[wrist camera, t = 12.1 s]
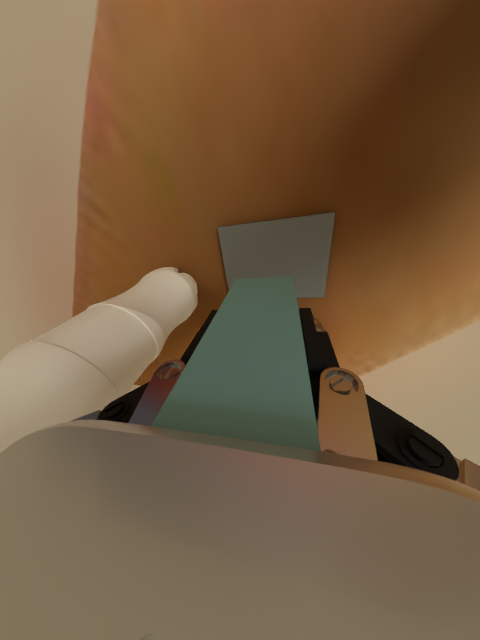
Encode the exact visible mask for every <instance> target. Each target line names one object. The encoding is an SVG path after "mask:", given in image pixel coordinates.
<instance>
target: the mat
mask: <svg viewBox="0 0 480 640" xmlns="http://www.w3.org/2000/svg"><path fill="white" fill-rule="evenodd" d="M334 219H335V212H330V213H322V214H315V215H307V216H299V217H292V218H284V219H276V220H269V221H261V222H253V223H246V224H238V225H231V226H223V227H218V234H219V239H220V245H221V251H222V256H223V262H224V268H225V273H226V279H227V284H228V290H230V289H231V287H232V285H233V284H234V282H235V280H236V279H247V278H263V277H280V276H294V283H295V289H296V296H297V298H315V297H324V296H325V289H326V281H327V273H328V266H329V258H330V250H331V242H332V235H333V227H334Z"/></svg>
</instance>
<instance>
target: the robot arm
mask: <svg viewBox="0 0 480 640" xmlns="http://www.w3.org/2000/svg"><path fill="white" fill-rule="evenodd" d="M217 311H218V310H212V311H211V313H210V315H209V316H208V318H207V319H206V321H205V323H204V324H203V326H202V327H201V329H200V330H199V331H198V333H197V334H196V336H195V337H194V339H193V340H192V342H191V343H190V345H189V347H188V348H187V350H186V351H185V353H184V354H183V356H182V358H181V359H180V360H170V361H167V362H165V363H163V364H162V365H160V366H159V367H158V368H157V369H156V371H155V372H154V374H153V376H152V378H151V380H150V382H148V383H146V384H144V385H142V386H141V387H139V388H137V389H135V390H133V391H131V392H129V393H127V394H125V395H123V396H121V397H119V398H117V399H115V400H114V401H112V402H110V403H109V404H108V405H107V406H106V407H105V408H104V409H103V410H102V411H101V410H97V411H95V412H92V413H90V414H87V415H84V416H82V417H79V418H77V419H74V420H72V421H69V422H64V423H60V424H56V425H52V426H49V427H45V428H42V429H40V430H37V431H35V432H32V433H30V434H28V435H26V436H24V437H22V438H21V439H19V440H17V441H16V442H14V443H13V444H12V445H10V446H9V447H8V448H6V449H5V450H4V451H3V452H1V453H0V640H480V466H479V465H477V464H475V463H473V462H471V461H469V460H467V459H463V460H462V461H461V460H459V459H457V458H455V457H454V456H453V455H452V454H451V453H450V451H449V450H448V449H447V448H446V447H445V446H444V445H443V444H442V443H441V442H440V441H438V440H437V439H436V438H434V437H433V436H431V435H430V434H428V433H426V432H425V431H424V430H422V429H420V428H419V427H417V426H415V425H414V424H413V423H411V422H409V421H408V420H406V419H405V418H403V417H402V416H400V415H398V414H397V413H395V412H394V411H392V410H391V409H389V408H387V407H386V406H384V405H383V404H381V403H380V402H378V401H376V400H375V399H373V398H372V397H370V396H368V395H367V394H365V391H364V386H363V383H362V381H361V380H360V378H359V377H358V376H357V375H355V374H354V373H353V372H351V371H349V370H347V369H343V368H340V367H339V364H338V361H337V359H336V356H335V353H334V350H333V347H332V344H331V341H330V338H329V336H328V333H327V332H326V331H316V327H315V323H314V320H313V316H312V312H311V309H310V308H300V309H299V315H300V321H301V328H302V334H303V340H304V347H305V353H306V359H307V366H308V372H309V379H310V385H311V391H312V398H313V404H314V410H315V417H316V423H317V430H318V436H319V442H320V449H321V451H314V450H308V449H301V448H295V447H288V446H282V445H275V444H269V443H262V442H255V441H249V440H242V439H235V438H228V437H222V436H215V435H208V434H201V433H194V432H188V431H181V430H174V429H167V428H160V427H153V426H151V425H152V423H153V422H154V420H155V418H156V416H157V415H158V413H159V411H160V410H161V408H162V406H163V404H164V403H165V401H166V399H167V397H168V396H169V394H170V392H171V391H172V389H173V387H174V385H175V384H176V382H177V380H178V378H179V377H180V375H181V373H182V372H183V370H184V368H185V366H186V365H187V363H188V361H189V359H190V358H191V356H192V354H193V353H194V351H195V349H196V347H197V346H198V344H199V342H200V340H201V339H202V337H203V335H204V334H205V332H206V330H207V328H208V327H209V325H210V323H211V322H212V320H213V318H214V316H215V315H216V313H217Z"/></svg>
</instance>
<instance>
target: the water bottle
mask: <svg viewBox="0 0 480 640" xmlns="http://www.w3.org/2000/svg"><path fill="white" fill-rule="evenodd" d="M197 293H198V289H197V284H196V282H195V280H194V279H193V277H192V276H190V275H189V274H187V273H178V269H176V268H174V267H163V268H159V269H156V270H154V271H152V272H150V273H148V274H146V275H145V276H144V277H143V278H142V279H141V280H140V281H139V282H138V283H137V284H136V285H135V286H134V287H132V288H131V289H129V290H128V291H126V292H124V293H122V294H120V295H118V296H116V297H114V298H111V299H109V300H106V301H103V302H100V303H97V304H94V305H91V306H90V307H88V308H87V310H85V311H83V312H81V313H80V314H78V315H76V316H74V317H73V318H71V319H69V320H67V321H66V322H64V323H62V324H60V325H59V326H57V327H55V328H53V329H51V330H49V331H48V332H46V333H44V334H42V335H41V336H39V337H37V338H35V339H34V340H32V341H27V342H24V343H22V344H20V345H19V346H17V347H16V348H15V349H13V350H12V351H10V352H9V353H8V354H7V355H5V356H4V357H3V358H2V359H1V360H0V453H1V452H3V451H4V450H5V449H6V448H8V447H9V446H10V445H12V444H13V443H14V442H16V441H17V440H19V439H21V438H22V437H24V436H26V435H28V434H30V433H32V432H35V431H37V430H40V429H42V428H45V427H49V426H52V425H56V424H60V423H64V422H69V421H72V420H74V419H77V418H79V417H82V416H84V415H87V414H90V413H92V412H95V411H97V410H101V411H102V410H103V409H104V408H105V407H106V406H107V405H108V404H109V403H110V402H112V401H114V400H115V399H117V398H119V397H121V396H123V395H125V394H126V393H127V391H128V390H129V389H130V388H131V386H132V385H133V384H134V383H135V382H136V380H137V379H138V378H139V377H140V375H141V374H142V373H143V372H144V370H145V369H146V368H147V367H148V365H149V364H150V363H151V362H153V361H154V360H155V359H156V358H157V357H158V355H159V354H160V352H161V350H162V348H163V345H164V343H165V341H166V339H167V338H168V336H169V335H170V333H171V332H172V331H173V330H174V329H175V328H176V327H177V326H178V325H179V324H181V323H182V322H184V321H185V320H187V319H188V318H189V316H190V315H191V314H192V313H193V311H194V309H195V308H196V306H197V303H198V297H197Z"/></svg>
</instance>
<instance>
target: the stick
mask: <svg viewBox="0 0 480 640" xmlns="http://www.w3.org/2000/svg"><path fill="white" fill-rule="evenodd" d="M151 426H153V427H160V428H167V429H174V430H181V431H188V432H194V433H201V434H208V435H215V436H222V437H228V438H235V439H242V440H249V441H255V442H262V443H269V444H275V445H282V446H288V447H295V448H301V449H308V450H314V451H321V449H320V442H319V436H318V430H317V423H316V417H315V410H314V404H313V398H312V391H311V385H310V379H309V372H308V366H307V359H306V353H305V347H304V340H303V334H302V328H301V321H300V315H299V308H298V302H297V296H296V289H295V283H294V276H280V277H263V278H247V279H236V280H235V282H234V284H233V285H232V287H231V289H230V290H229V292H228V294H227V296H226V297H225V299H224V301H223V303H222V304H221V306H220V308H219V309H218V311H217V313H216V315H215V316H214V318H213V320H212V322H211V323H210V325H209V327H208V328H207V330H206V332H205V334H204V335H203V337H202V339H201V340H200V342H199V344H198V346H197V347H196V349H195V351H194V353H193V354H192V356H191V358H190V359H189V361H188V363H187V365H186V366H185V368H184V370H183V372H182V373H181V375H180V377H179V378H178V380H177V382H176V384H175V385H174V387H173V389H172V391H171V392H170V394H169V396H168V397H167V399H166V401H165V403H164V404H163V406H162V408H161V410H160V411H159V413H158V415H157V416H156V418H155V420H154V422H153V423H152V425H151Z"/></svg>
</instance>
